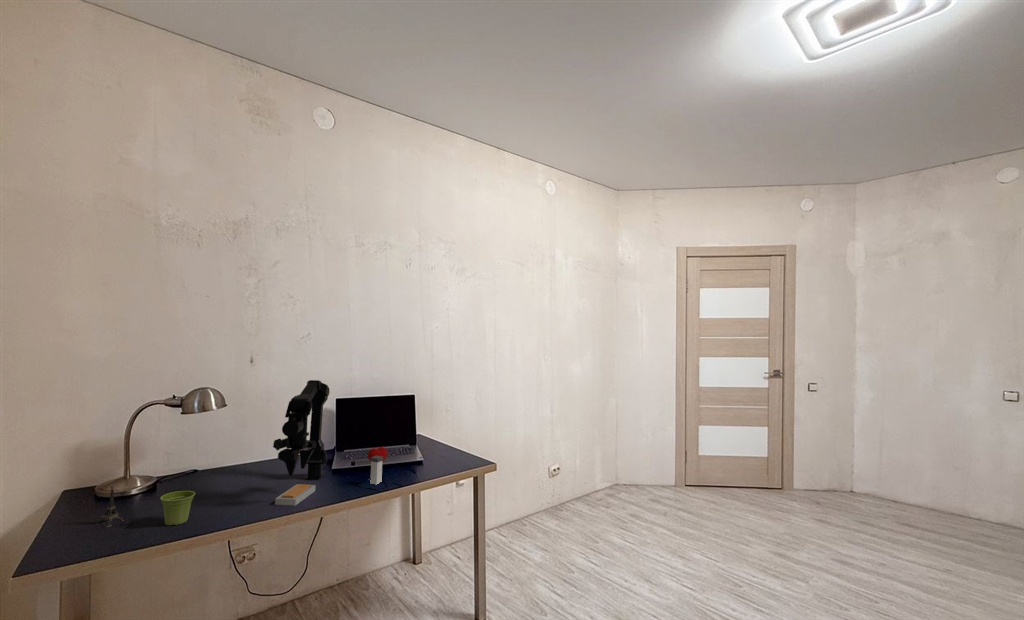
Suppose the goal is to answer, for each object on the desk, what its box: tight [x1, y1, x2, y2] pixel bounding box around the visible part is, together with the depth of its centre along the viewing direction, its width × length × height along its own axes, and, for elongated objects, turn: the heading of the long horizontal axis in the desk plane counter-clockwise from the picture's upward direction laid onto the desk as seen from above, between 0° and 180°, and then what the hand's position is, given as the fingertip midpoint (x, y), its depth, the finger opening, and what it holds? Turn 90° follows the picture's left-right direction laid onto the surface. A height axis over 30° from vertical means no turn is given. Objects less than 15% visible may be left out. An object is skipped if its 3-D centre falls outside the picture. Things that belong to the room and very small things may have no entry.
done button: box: [282, 483, 310, 498], centre depth 180 cm, size 13×4×2 cm, turn 178°
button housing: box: [274, 483, 317, 507], centre depth 180 cm, size 16×8×2 cm, turn 178°
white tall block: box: [369, 456, 384, 485], centre depth 198 cm, size 4×4×11 cm
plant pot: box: [160, 490, 196, 526], centre depth 156 cm, size 9×9×9 cm
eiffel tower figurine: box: [95, 485, 125, 528], centre depth 154 cm, size 15×10×13 cm
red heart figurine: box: [367, 446, 388, 463], centre depth 218 cm, size 9×7×10 cm
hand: (296, 472), depth 181 cm, fingers open, 9 cm apart
